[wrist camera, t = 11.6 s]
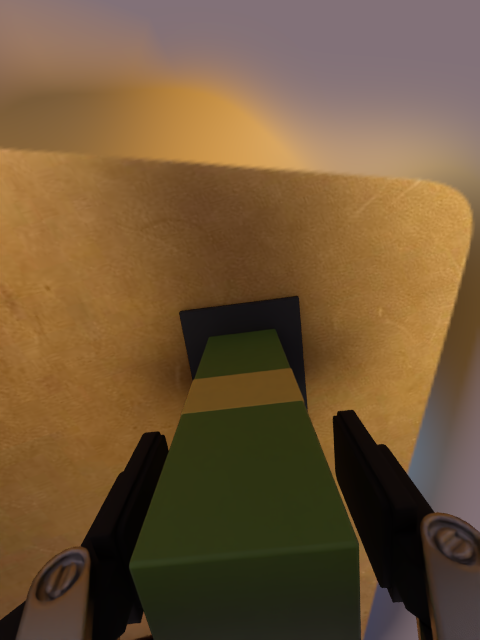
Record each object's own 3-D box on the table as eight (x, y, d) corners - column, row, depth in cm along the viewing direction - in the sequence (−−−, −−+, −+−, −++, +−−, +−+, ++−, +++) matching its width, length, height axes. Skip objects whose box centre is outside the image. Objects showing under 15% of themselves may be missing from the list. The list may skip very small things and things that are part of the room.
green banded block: (208, 336, 16) (124, 565, 5) (275, 327, 16) (362, 544, 4) (223, 422, 18) (189, 752, 6) (284, 415, 18) (365, 741, 6)
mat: (180, 310, 16) (178, 312, 16) (297, 295, 16) (299, 297, 16) (205, 437, 19) (204, 441, 18) (307, 426, 18) (309, 429, 18)
